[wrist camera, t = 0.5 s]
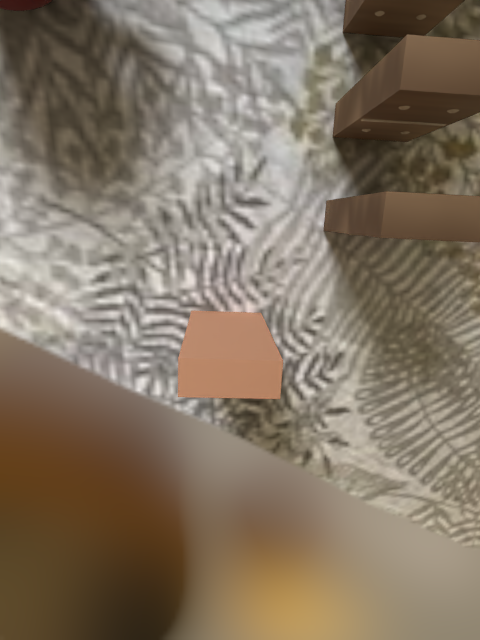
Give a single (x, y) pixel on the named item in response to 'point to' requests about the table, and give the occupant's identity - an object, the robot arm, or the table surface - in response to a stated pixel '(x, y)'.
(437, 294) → the table surface
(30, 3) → the mug
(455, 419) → the table surface
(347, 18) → the domino
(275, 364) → the domino
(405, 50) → the domino
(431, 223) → the domino
